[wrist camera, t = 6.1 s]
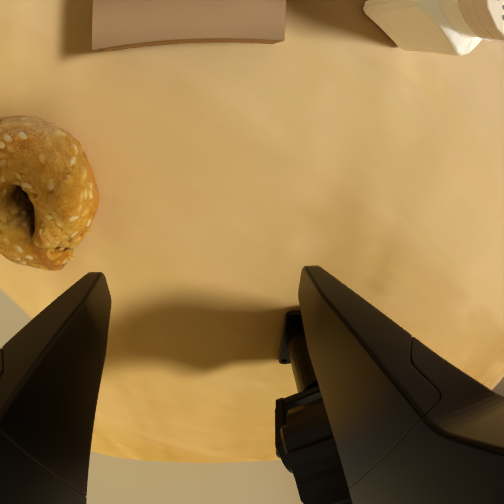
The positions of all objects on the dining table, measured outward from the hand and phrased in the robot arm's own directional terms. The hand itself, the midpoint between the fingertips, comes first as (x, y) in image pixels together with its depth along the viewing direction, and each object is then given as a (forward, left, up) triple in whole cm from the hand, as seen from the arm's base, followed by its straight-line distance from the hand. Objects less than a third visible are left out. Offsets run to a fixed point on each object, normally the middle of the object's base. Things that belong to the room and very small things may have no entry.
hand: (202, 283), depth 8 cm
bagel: (-2, +12, -12) cm, 17 cm away
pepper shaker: (+10, -11, -12) cm, 19 cm away
